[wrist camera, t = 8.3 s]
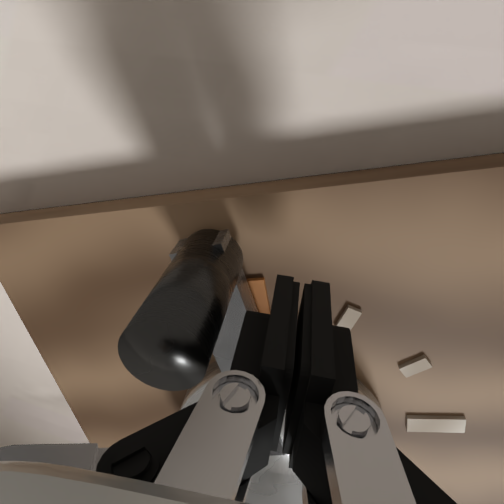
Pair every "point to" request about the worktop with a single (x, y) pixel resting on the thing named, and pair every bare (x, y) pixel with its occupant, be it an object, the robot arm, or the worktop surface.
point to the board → (304, 271)
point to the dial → (203, 338)
